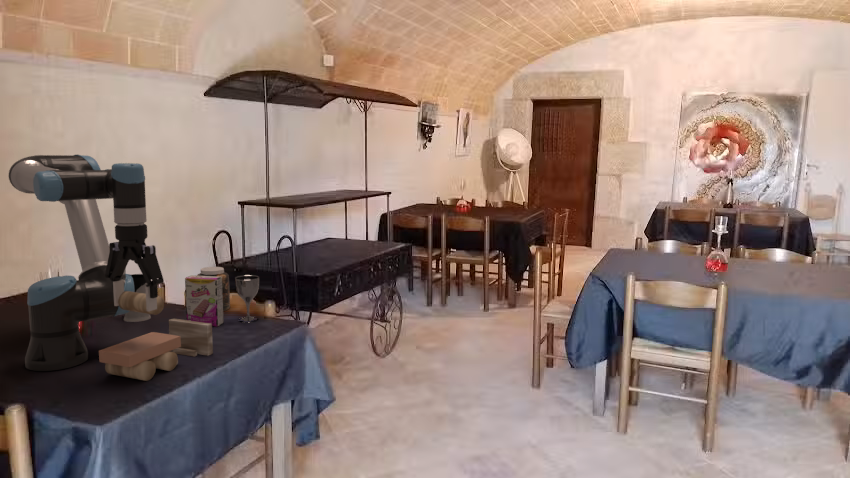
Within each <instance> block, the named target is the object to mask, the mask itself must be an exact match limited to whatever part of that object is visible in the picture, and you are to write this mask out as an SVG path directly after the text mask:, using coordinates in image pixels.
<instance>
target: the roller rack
mask: <svg viewBox="0 0 850 478" xmlns="http://www.w3.org/2000/svg"><path fill="white" fill-rule="evenodd" d="M168 334H170V335H176V336H180V337H181V347H179V348H176V349H174V350H172V351H169V352H166V353H164V354H161V355H159V356H156V357H154V358H151V359H149V360H146V361H144V362H141V363H139V364H136V365H134V366H131V367H125V366H119V365H114V364H108V363H104V365H105V366H104V369H105V373H107V374H108V375H113V376H119V377H124V378H130V379H135V380H139V381H144V382H145V381H146V382H149V381H150V380H151V379H152V378H153V377H154V375H155V373H156V369H157V370H162V371H163V370H164V371H168V372H169V371H173V370H174V369H175V368H176V367H177V365H178V364H179V358H178V355H182V356H189V357H196V356H198V355H203V356H207V357H210V356H211V355H213V354H214V347H213V326H212V324H210V323H203V322H196V321H189V320H187V319H179V318H174V317H173V318H171V319H168Z"/></svg>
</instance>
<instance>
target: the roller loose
mask: <svg viewBox="0 0 850 478" xmlns="http://www.w3.org/2000/svg"><path fill="white" fill-rule="evenodd" d="M118 303H119V307H120V308H121V309H123V310H129V311H135V312H141V313H147V314H150V315H155V316H157V315H159V314H160V313H162V311H163V310H164V308H165V301H164V298H163V297H162V296H161V295H158V297H157V309H156V310H152V311H147V309H146V294H144V293H137V292H130V291H125V292H123V293H122V294H121V295H120V297H119V301H118Z"/></svg>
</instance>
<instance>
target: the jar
mask: <svg viewBox="0 0 850 478" xmlns="http://www.w3.org/2000/svg"><path fill="white" fill-rule="evenodd" d="M196 275H197V276H218V277H222V291H223V312H224V311H227V310H229V309H231V302H230V301H231V299H230V297H231V296H230V295H231V294H230V291H231V290H230V277H229V276H230V275H229V274H228V273H227V272H225V269H224V267H222V266H206V267H201V268H200V273H197V274H196Z"/></svg>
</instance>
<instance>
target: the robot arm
mask: <svg viewBox="0 0 850 478" xmlns="http://www.w3.org/2000/svg"><path fill="white" fill-rule="evenodd" d="M8 180H9V183H10V184H11V186H12V187H13V188H14V189H16V190H18V191H19V192H21V193H24V194H31V195H32V194H34V195H35V197H36V199H37V200H38V201H40V202H51V203H52V202H53V203H55V202H59V203H60V204H63V205H64V207H65V208H64V209H65V211H66V215H67V218H68V222H69V225H70V229H71V230H70V231H71V233H72V237H73V240H74V245H75V248H76V252H77V253H76V254H77V256H78V259H79V264H80V266H81V270H82V271H81V272H80V273H79V274H78V277H77V278H78V280H77V279H76V277H75V276H73V275H62V276H60V275H58V276H53V277H48V278H45V279H41V280H39V281H36V282H34V283H32V284H30V286H29V287H28V288H27V302H26V304H27V306H28V307H27V308H28V320H29V333H30V334H29V335H30V340H29V344H28V347H27V350H26V353H25V357H24V364H25V365H24V366H25V368H26V369H27V370H30V371H35V372H51V371H58V370H60V371H61V370H64V369H69V368H73V367H76V366H80V365H81V364H83V363H85V362H86V361H87V360H88V359H89V351H88V348H87V346H86V343H85V341H84V339H83V338H82V335H81V332H80V322H87V321H92V320H98V319H99V320H100V319H105V318H111V317H113V318H114V317H117V316H120V315H125V314H126V313H128V312H129V310H123V309H121V308H120V307H119V303H118V301H119V297H120V295H121V294H122V293H123V292H125V291H130V292H135V289H134V281H133V278H132V276H131V275H132V274H130V273H126V274H123V273H124V270H125V268H127V265H128V264H129V261H133V262H134V263H135V264H136V265H137V266H138V269H139V270H140V272H141V274H143V276H144V278H145V280H146V282H147V285H146V286H145V290H146V309H147V311H152V310H156V309H157V297H158V296H159V295H158V285H159V284H163V283H164V277H163V276H164V275H163V273H162V270H161V266H160V264H159V261H158V257H157V254H156V253H157V251H156V250H157V249H156V245H154V244H153V245H147V244H146V239H147V238H148V225H147V224H146V222H147V220H148V219H147V207H146V206H147V205H146V204H147V203H146V202H147V200H146V181H145V180H146V176H145V169H144V166H143V164H141V163H132V162H128V163H127V162H125V163H122V162H121V163H113V164H112V165H111V169H109V168H108V169H107V168H106V169H101V167H100V165H99V163H98V162H97V160H96V158H94V157H92V156H90V155H84V154H83V155H81V154H73V155H70V154H68V155H60V154H58V155H54V154H52V155H51V154H50V155H49V154H47V155H43V154H37V155H30V156H25V157H22V158H20V159H18V161H15V162H14V163H13V164H12V165H11V166H10V168H9V170H8ZM106 199H107V200H108V199H110V200H111V199H113V200H112V201H113V220H114V221H113V222H114V224H115V226H114V234H115V237H114V238H115V239H116V240H117V241H115V242H114V241H113V242H110V243H109V241H108V238H107V234H106V230H105V227H104V223H103V221H102V216H101V213H100V209H99V206H98V203H97V200H106Z"/></svg>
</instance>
